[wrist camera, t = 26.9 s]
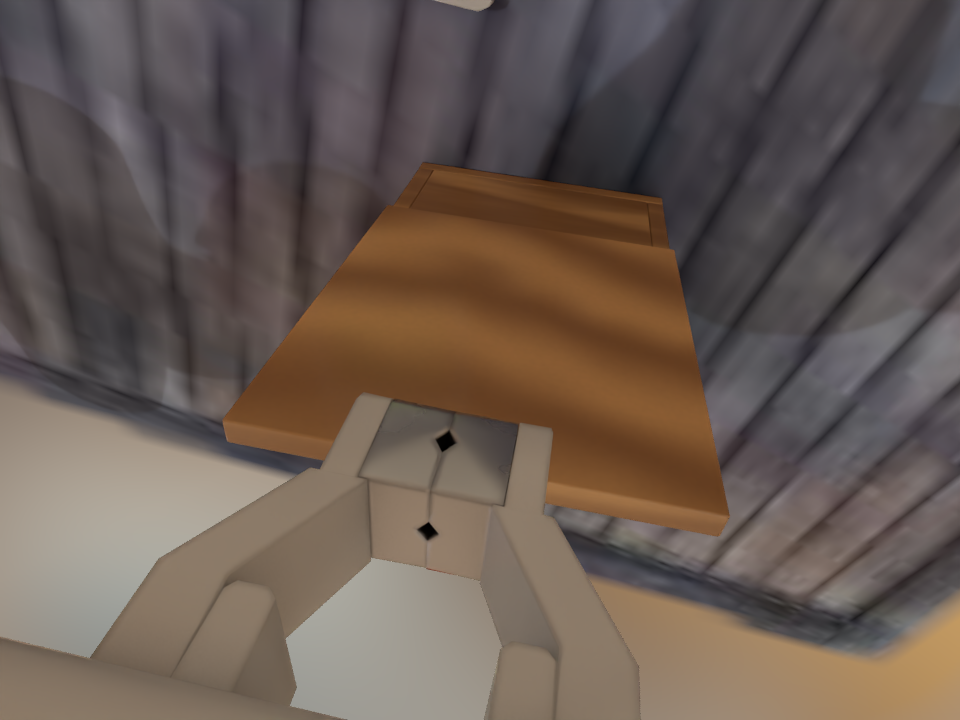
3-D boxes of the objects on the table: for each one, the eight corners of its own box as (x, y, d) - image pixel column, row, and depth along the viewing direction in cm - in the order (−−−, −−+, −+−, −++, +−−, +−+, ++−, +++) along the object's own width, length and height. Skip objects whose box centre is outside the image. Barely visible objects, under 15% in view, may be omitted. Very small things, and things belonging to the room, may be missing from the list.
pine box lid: (720, 538, 14) (731, 517, 14) (226, 442, 16) (220, 419, 15) (669, 266, 26) (674, 249, 25) (387, 221, 27) (387, 204, 26)
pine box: (604, 393, 39) (603, 461, 35) (417, 360, 40) (392, 422, 36) (662, 197, 31) (671, 252, 26) (422, 162, 32) (390, 208, 27)
